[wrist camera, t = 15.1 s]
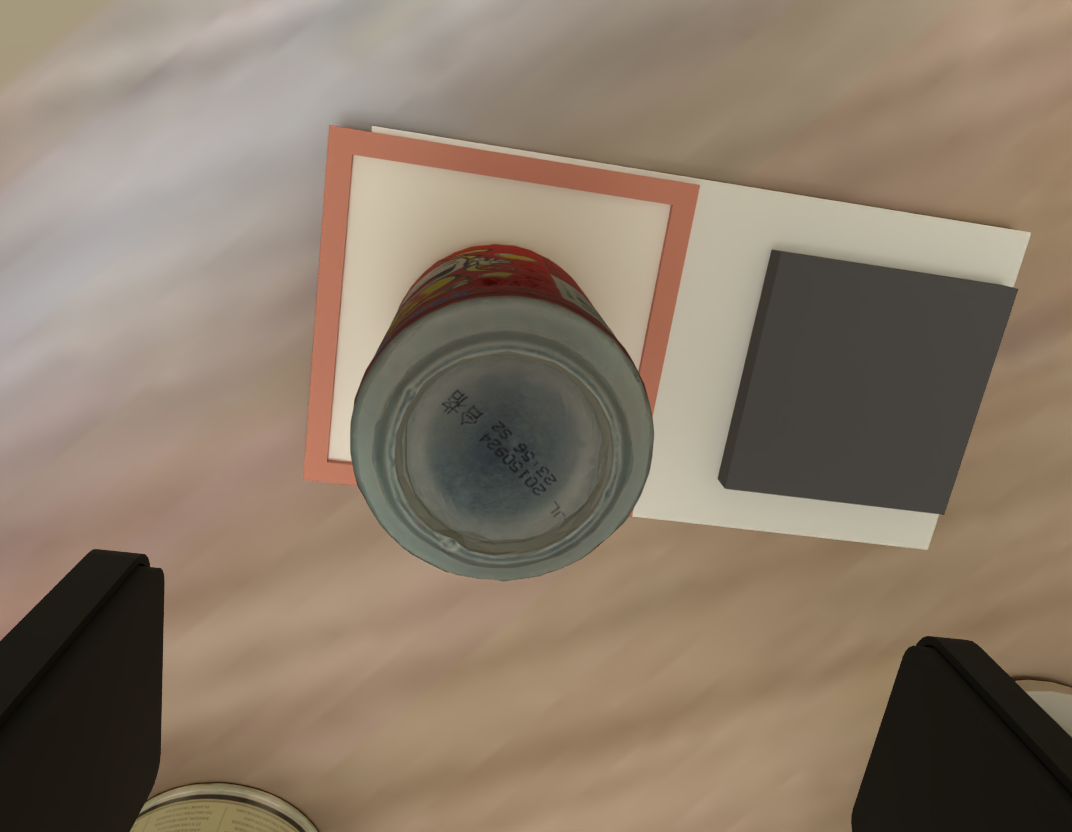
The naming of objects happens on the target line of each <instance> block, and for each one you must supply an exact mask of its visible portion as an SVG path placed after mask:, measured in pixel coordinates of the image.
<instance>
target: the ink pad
mask: <svg viewBox="0 0 1072 832" xmlns="http://www.w3.org/2000/svg"><path fill="white" fill-rule="evenodd" d="M1017 291H1018V289H1016V288H1012V287H1008V286H1005V285H1000V284H994V283H987V282H981V281H974V280H968V279H961V278H954V277H948V276H941V275H935V274H928V273H922V272H915V271H909V270H902V269H896V268H889V267H883V266H876V265H870V264H863V263H857V262H850V261H844V260H837V259H831V258H824V257H818V256H811V255H805V254H798V253H792V252H785V251H779V250H771V254H770V258H769V262H768V267H767V271H766V275H765V279H764V284H763V288H762V292H761V296H760V301H759V305H758V309H757V313H756V317H755V322H754V326H753V330H752V334H751V339H750V343H749V347H748V351H747V356H746V360H745V364H744V368H743V373H742V377H741V381H740V385H739V390H738V394H737V398H736V402H735V407H734V411H733V415H732V419H731V424H730V428H729V432H728V436H727V441H726V445H725V449H724V453H723V457H722V462H721V466H720V470H719V474H718V480H719V482H720V483H721V484H722V486H723V487H724V488H725V489H731V490H739V491H747V492H756V493H764V494H773V495H781V496H790V497H798V498H807V499H815V500H823V501H832V502H840V503H849V504H857V505H866V506H874V507H882V508H891V509H899V510H908V511H916V512H925V513H933V514H942V515H944V513H945V510H946V507H947V504H948V501H949V498H950V495H951V492H952V489H953V486H954V483H955V480H956V477H957V474H958V471H959V468H960V464H961V461H962V458H963V455H964V452H965V449H966V446H967V443H968V440H969V437H970V434H971V431H972V428H973V425H974V422H975V419H976V416H977V413H978V410H979V407H980V404H981V401H982V398H983V395H984V392H985V389H986V385H987V382H988V379H989V376H990V373H991V370H992V367H993V364H994V361H995V358H996V355H997V352H998V349H999V346H1000V343H1001V340H1002V337H1003V334H1004V331H1005V328H1006V325H1007V322H1008V319H1009V316H1010V313H1011V309H1012V306H1013V303H1014V300H1015V297H1016V294H1017Z"/></svg>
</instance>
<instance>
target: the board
mask: <svg viewBox="0 0 1072 832" xmlns="http://www.w3.org/2000/svg"><path fill="white" fill-rule="evenodd" d="M371 132H374V133H381V134H387V135H393V136H399V137H405V138H412V139H418V140H424V141H430V142H436V143H443V144H449V145H455V146H461V147H467V148H474V149H480V150H486V151H492V152H498V153H505V154H511V155H517V156H523V157H530V158H536V159H542V160H548V161H554V162H561V163H567V164H573V165H579V166H585V167H592V168H598V169H604V170H610V171H616V172H623V173H629V174H635V175H641V176H647V177H654V178H660V179H666V180H672V181H678V182H685V183H691V184H697V185H700V189H699V194H698V199H697V203H696V208H695V213H694V218H693V223H692V228H691V233H690V238H689V242H688V247H687V252H686V257H685V262H684V267H683V272H682V276H681V281H680V286H679V291H678V296H677V301H676V306H675V311H674V315H673V320H672V325H671V330H670V335H669V340H668V345H667V350H666V354H665V359H664V364H663V369H662V374H661V379H660V384H659V388H658V393H657V398H656V403H655V408H654V413H653V426H654V443H653V455H652V461H651V467H650V472H649V475H648V478H647V480H646V483H645V486H644V488H643V491H642V494H641V496H640V498H639V500H638V502H637V503H636V505H635V507H634V510H633V515H632V516H633V517H642V518H651V519H660V520H669V521H677V522H686V523H695V524H704V525H713V526H722V527H730V528H739V529H748V530H757V531H766V532H775V533H783V534H792V535H801V536H810V537H819V538H828V539H837V540H845V541H854V542H863V543H872V544H881V545H890V546H898V547H907V548H916V549H925V550H928V547H929V544H930V541H931V538H932V535H933V532H934V529H935V526H936V523H937V520H938V517H939V514H933V513H925V512H916V511H908V510H899V509H891V508H882V507H874V506H866V505H857V504H849V503H840V502H832V501H823V500H815V499H807V498H798V497H790V496H781V495H773V494H764V493H756V492H747V491H739V490H731V489H725V488H724V487H723V486H722V484H721V483H720V482H719V480H718V474H719V470H720V466H721V462H722V457H723V453H724V449H725V445H726V441H727V436H728V432H729V428H730V424H731V419H732V415H733V411H734V407H735V402H736V398H737V394H738V390H739V385H740V381H741V377H742V373H743V368H744V364H745V360H746V356H747V351H748V347H749V343H750V339H751V334H752V330H753V326H754V322H755V317H756V313H757V309H758V305H759V301H760V296H761V292H762V288H763V284H764V279H765V275H766V271H767V267H768V262H769V258H770V254H771V250H779V251H785V252H792V253H798V254H805V255H811V256H818V257H824V258H831V259H837V260H844V261H850V262H857V263H863V264H870V265H876V266H883V267H889V268H896V269H902V270H909V271H915V272H922V273H928V274H935V275H941V276H948V277H954V278H961V279H968V280H974V281H981V282H987V283H994V284H1000V285H1005V286H1008V287H1012V288H1013V287H1014V284H1015V281H1016V278H1017V275H1018V272H1019V269H1020V266H1021V263H1022V260H1023V257H1024V254H1025V251H1026V248H1027V244H1028V241H1029V238H1030V235H1031V232H1024V231H1018V230H1012V229H1006V228H1000V227H994V226H987V225H981V224H975V223H969V222H963V221H957V220H950V219H944V218H938V217H932V216H926V215H919V214H913V213H907V212H901V211H895V210H889V209H882V208H876V207H870V206H864V205H858V204H852V203H845V202H839V201H833V200H827V199H821V198H815V197H808V196H802V195H796V194H790V193H784V192H777V191H771V190H765V189H759V188H753V187H747V186H740V185H734V184H728V183H722V182H716V181H710V180H703V179H697V178H691V177H685V176H679V175H673V174H666V173H660V172H654V171H648V170H642V169H635V168H629V167H623V166H617V165H611V164H605V163H598V162H592V161H586V160H580V159H574V158H568V157H561V156H555V155H549V154H543V153H537V152H531V151H524V150H518V149H512V148H506V147H500V146H493V145H487V144H481V143H475V142H469V141H463V140H456V139H450V138H444V137H438V136H432V135H426V134H419V133H413V132H407V131H401V130H395V129H389V128H382V127H376V126H372V130H371Z"/></svg>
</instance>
